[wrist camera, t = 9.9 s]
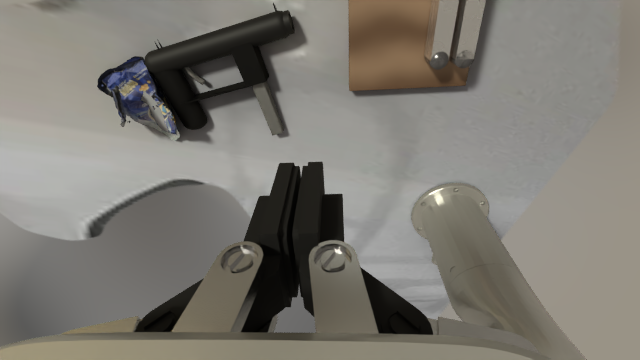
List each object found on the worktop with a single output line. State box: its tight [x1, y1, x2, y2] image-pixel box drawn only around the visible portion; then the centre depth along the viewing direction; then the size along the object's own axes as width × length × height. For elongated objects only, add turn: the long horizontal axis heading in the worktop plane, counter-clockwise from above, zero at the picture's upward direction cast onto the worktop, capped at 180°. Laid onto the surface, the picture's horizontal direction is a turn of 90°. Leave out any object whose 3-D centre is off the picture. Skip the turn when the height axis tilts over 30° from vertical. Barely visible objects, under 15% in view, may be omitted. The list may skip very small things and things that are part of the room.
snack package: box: [97, 57, 180, 141], centre depth 42 cm, size 12×6×12 cm
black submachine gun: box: [145, 3, 295, 135], centre depth 41 cm, size 3×20×16 cm
